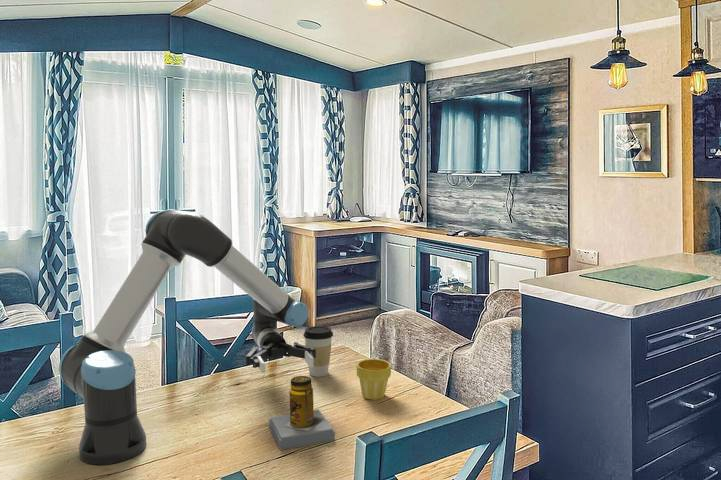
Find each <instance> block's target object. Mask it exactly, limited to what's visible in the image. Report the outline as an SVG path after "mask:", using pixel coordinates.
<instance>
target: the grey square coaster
mask: <svg viewBox="0 0 721 480" xmlns="http://www.w3.org/2000/svg"><path fill="white" fill-rule="evenodd" d="M313 413H314V416H317V417H324V418H323V419H322V420H321V421H320V422H318V423H317V424H316V425H315V426H314V427H312V428H311V429H310V430H309V431H305V430H299V429H294V428H290V427H287V426H283V425H285V424H287V423H288V422H289V421H290V413H289V414H283V415H276V416H271V417H270V418H268V429H269V430H270V432H271V433H270V434H271V435H272V436H273V438H274V441H275V442H276V444H277V446H278V448H279V450H280V451H283V450H288V449H289V450H290V449H294V448H300V447H305V446H309V445H316V444H322V443H327V442H333V441H335V440H336V434H335V433H336V431H335V430H334V428H333V427H332V425H331V424H330V423H329V421H328V420H327V419H326V417H325V416H324V415H323V413H322V412H321V411H320V409H313Z"/></svg>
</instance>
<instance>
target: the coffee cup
mask: <svg viewBox="0 0 721 480" xmlns="http://www.w3.org/2000/svg"><path fill="white" fill-rule="evenodd" d="M304 330H305V331H304V332H303V337H304V341H305V343H304V346H308V347H311V348H314V349H316V358H314V367H312V368H311V367H310V366H309V365H308V364H307V365H308V373H309V375H310V376H312V377H317V378H318V377H324V376H327V375H328V374H329V367H330V361H331V354H332V353H331V351H332V344H333V343H332V337H333V336H334V333H333V331H332V329H331V327H329V326H325V325H324V326H323V325H313V326H308V327H306V328H305V329H304Z"/></svg>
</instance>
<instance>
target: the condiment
mask: <svg viewBox="0 0 721 480" xmlns="http://www.w3.org/2000/svg"><path fill="white" fill-rule="evenodd" d="M312 386H313V385H312V378H311V377H309V376H307V375H298V376H294V377H292V378H291V380H290V389H289V391H288V392H289V414H290V421H289V422H288V423H287V424H285V425H283V426H287V427H290V428H294V429H299V430H305V431H309V430H310V429H311V428H312V427H314V426H315V425H316V424H317V423H318V422H320V421H321V420H322V419H323V418H324V417H325V416H324V417H317V416H314V413H313V411H314V389H313V387H312Z"/></svg>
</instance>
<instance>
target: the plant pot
mask: <svg viewBox="0 0 721 480" xmlns="http://www.w3.org/2000/svg"><path fill="white" fill-rule="evenodd" d="M391 375H392V364H391V363H390V362H389V361H387V360H384V359H380V358H379V359H378V358H367V359H363V360H362V359H361V360H359V361H358V362H357V363H356V376H357V377H358V380H359V384H360V385H359V386H360V389H361V395H362V397H363V398H364V399H367V400H372V401H373V400H375V401H376V400H381V399H383V398H384V397H385V395H386V390H387V386H388V380H389V378H390V377H391Z"/></svg>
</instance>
